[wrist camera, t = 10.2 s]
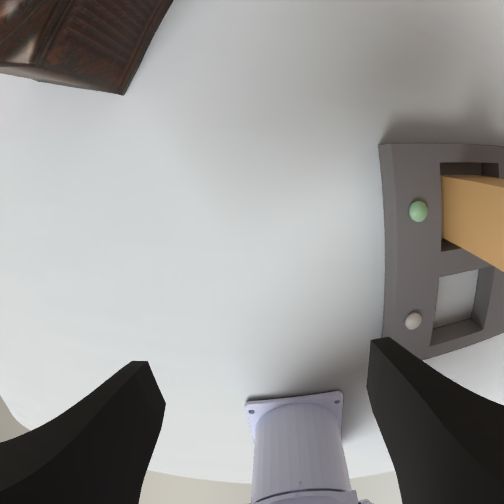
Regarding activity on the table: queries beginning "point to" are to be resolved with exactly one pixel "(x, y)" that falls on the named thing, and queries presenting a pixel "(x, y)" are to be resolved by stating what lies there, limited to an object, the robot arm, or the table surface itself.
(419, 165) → the socket block
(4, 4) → the manual coffee grinder
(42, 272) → the table surface
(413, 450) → the robot arm
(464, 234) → the plug
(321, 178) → the table surface
